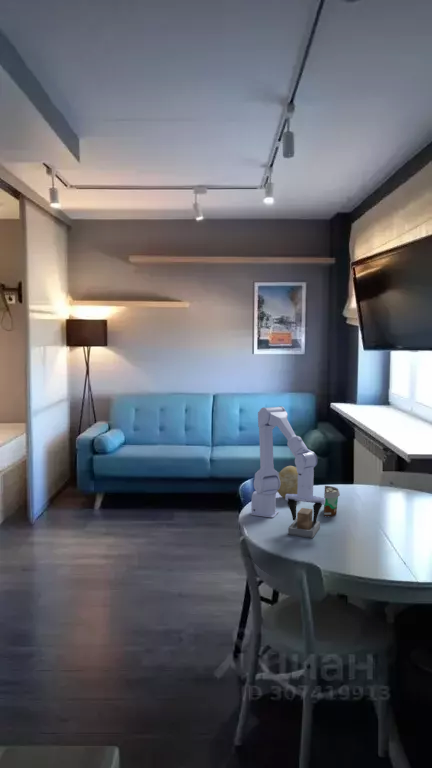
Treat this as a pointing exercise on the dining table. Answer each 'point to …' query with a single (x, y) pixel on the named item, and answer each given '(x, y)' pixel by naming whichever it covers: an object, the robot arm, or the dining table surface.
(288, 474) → the fossilized egg
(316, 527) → the grey shallow tray
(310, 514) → the brown block
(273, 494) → the robot arm
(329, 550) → the dining table surface
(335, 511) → the food container
